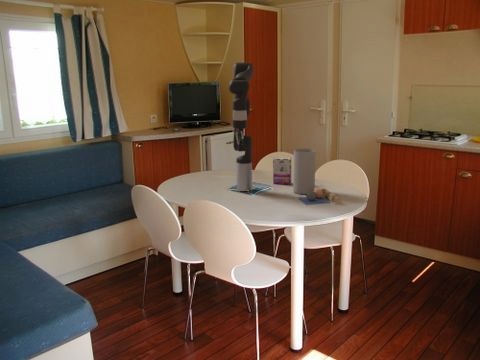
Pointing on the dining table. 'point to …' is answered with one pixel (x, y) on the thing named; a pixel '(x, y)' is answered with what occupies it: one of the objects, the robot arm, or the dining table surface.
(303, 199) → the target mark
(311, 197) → the grey ball
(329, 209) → the dining table surface
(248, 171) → the robot arm
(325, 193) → the stopper
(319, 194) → the object ball
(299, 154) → the cylinder vase
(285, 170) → the candy bar box
